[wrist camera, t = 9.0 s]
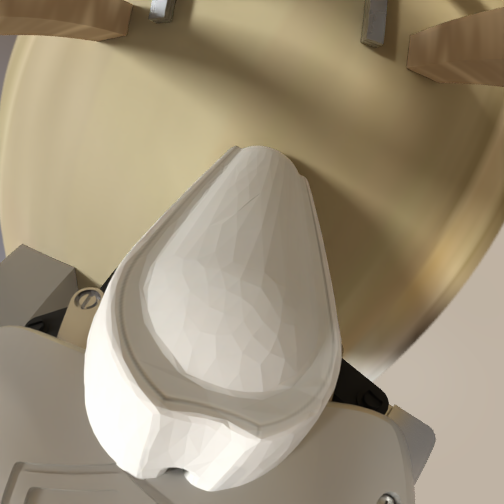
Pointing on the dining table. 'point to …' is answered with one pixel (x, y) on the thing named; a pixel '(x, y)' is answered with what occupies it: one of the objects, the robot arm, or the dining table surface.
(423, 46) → the wooden display stand
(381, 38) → the seat guides
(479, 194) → the dining table surface
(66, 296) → the beige rectangular block
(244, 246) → the photo printer
